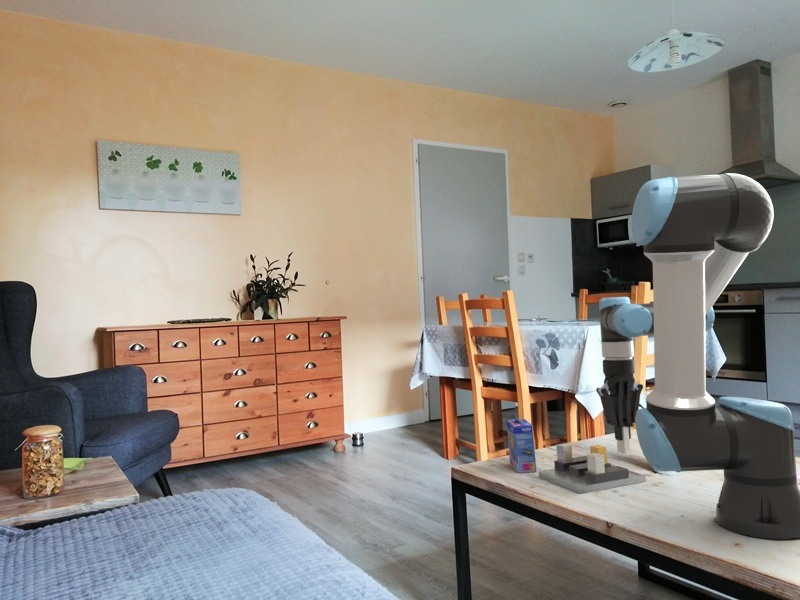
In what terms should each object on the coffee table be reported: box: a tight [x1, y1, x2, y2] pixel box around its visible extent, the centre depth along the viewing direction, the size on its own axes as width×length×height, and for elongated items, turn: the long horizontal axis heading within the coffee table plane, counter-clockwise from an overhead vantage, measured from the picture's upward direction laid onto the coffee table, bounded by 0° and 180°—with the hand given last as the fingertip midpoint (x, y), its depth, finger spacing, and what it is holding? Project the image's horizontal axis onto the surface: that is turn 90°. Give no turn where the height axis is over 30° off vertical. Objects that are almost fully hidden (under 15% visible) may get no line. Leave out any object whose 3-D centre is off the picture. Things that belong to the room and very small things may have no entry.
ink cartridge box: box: [506, 412, 538, 474], centre depth 159 cm, size 10×6×14 cm, turn 1°
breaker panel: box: [538, 443, 647, 495], centre depth 145 cm, size 16×19×8 cm
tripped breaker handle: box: [589, 444, 608, 464], centre depth 146 cm, size 3×2×4 cm
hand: (623, 452), depth 149 cm, fingers closed
